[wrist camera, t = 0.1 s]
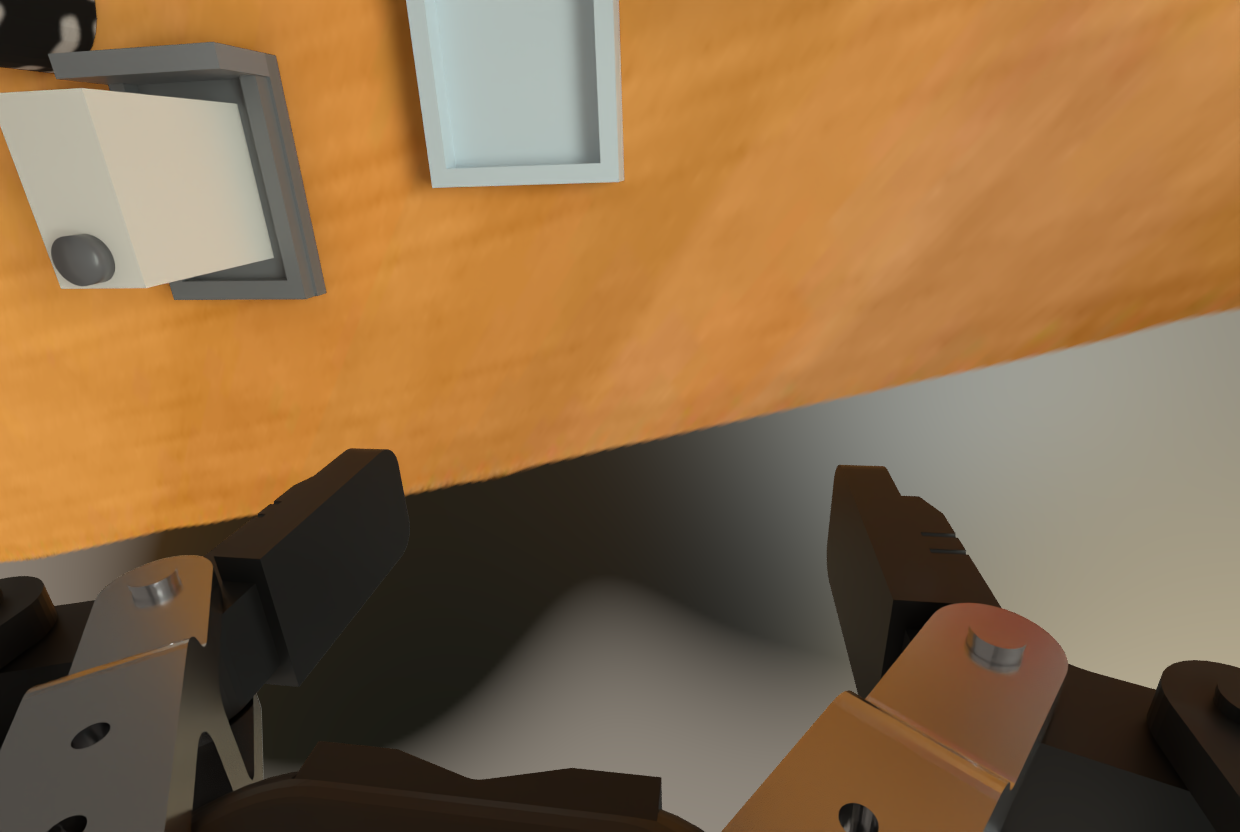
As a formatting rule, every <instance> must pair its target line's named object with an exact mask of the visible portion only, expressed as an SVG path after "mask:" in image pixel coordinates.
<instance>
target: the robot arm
mask: <svg viewBox="0 0 1240 832" xmlns="http://www.w3.org/2000/svg"><path fill="white" fill-rule="evenodd" d="M409 533H410V523H409V517H408V512H407V507H406V501H405V496H404V491H403V486H402V481H401V475H400V470H399V465H398V461H397V458H396V456H395V454H394V453H393V452H392V451H391V450H385V449H354V448H352V449H348V450H346V451H345V452H343V453H342V454H341V455H340V456H338V457H337V458H336V459H334V460H333V461H332V462H331V463H329V464H328V465H327V466H326V467H324V468H323V469H322V470H321V471H319V472H318V473H317V474H316V475H314V476H313V477H311V478H309V479H307V480H304V481H302V482H300V483H298V484H296V485H294V486H293V487H291V488H290V489H289V490H287V491H286V492H285V493H284V494H282V495H281V496H280V497H279V498H277V499H276V500H275V501H274V504H270V505H268V506H267V507H266V508H265V509H263V510H262V511H261V512H259V513H258V517H253V518H252V519H251V520H249V521H248V522H247V523H245V524H244V525H243V526H242V527H240V528H239V529H238V530H237V531H235V532H234V533H233V534H231V535H230V536H229V537H228V538H227V539H225V540H224V541H222V542H221V543H220V544H219V545H217V546H216V547H215V548H214V549H212V550H211V551H210V552H209V553H207V554H206V555H205V556H203V557H202V556H196V555H183V556H175V557H169V558H165V559H161V560H157V561H154V562H151V563H148V564H145V565H142V566H140V567H138V568H135V569H133V570H131V571H129V572H127V573H126V574H123V575H122V576H120V577H118V578H117V579H115V580H114V581H112V582H111V583H110V584H108V585H107V586H106V587H105V588H104V589H103V590H102V591H101V592H100V593H99V594H98V596H97V597H96V599H95V600H94V601H87V602H80V603H73V604H66V605H59V606H54V605H53V603H52V601H51V599H50V597H49V595H48V592H47V590H46V588H45V586H44V584H43V582H42V581H41V580H40V579H38V578H35V577H29V576H18V577H10V578H4V579H0V832H704V831H703V830H701V829H700V828H699V827H697V826H695V825H693V824H691V823H689V822H688V821H686V820H684V819H682V818H680V817H679V816H676V815H674V814H671V813H669V812H666V811H664V810H662V797H661V796H662V794H661V793H662V791H661V778H660V777H651V776H642V775H633V774H624V773H614V772H604V771H595V770H586V769H576V768H569V769H560V770H553V771H545V772H538V773H530V774H523V775H515V776H507V777H500V778H492V779H484V780H475V779H470V778H466V777H464V776H462V775H459V774H457V773H454V772H452V771H449V770H447V769H445V768H442V767H440V766H437V765H435V764H432V763H430V762H427V761H425V760H422V759H420V758H418V757H415V756H412V755H410V754H408V753H405V752H403V751H400V750H397V749H389V748H379V747H370V746H360V745H351V744H342V743H331V742H322V741H319V742H318V744H317V745H316V747H315V748H314V750H313V751H312V752H311V754H310V755H309V757H308V758H307V760H306V761H305V763H304V765H303V766H302V768H301V769H300V770H299V771H298V772H291V773H287V774H282V775H279V776H275V777H270V778H267V779H264V780H263V749H262V748H263V745H262V712H261V705H260V702H259V700H258V697H257V694H256V693H257V692H258V691H259V689H260V688H261V687H262V686H263V685H264V684H274V685H285V686H296V687H299V686H300V685H301V684H302V682H303V681H304V680H305V679H306V677H307V676H308V675H309V673H310V672H311V671H312V670H313V668H314V667H315V666H316V664H317V663H318V662H319V661H320V659H321V658H322V657H323V656H324V654H325V653H326V652H327V651H328V649H329V648H330V647H331V645H332V644H333V643H334V642H335V640H336V639H337V638H338V637H339V635H340V634H341V633H342V631H343V630H344V629H345V627H346V626H347V625H348V624H349V622H350V621H351V620H352V619H353V617H354V616H355V615H356V614H357V612H358V611H359V610H360V608H361V607H362V606H363V605H364V603H365V602H366V601H367V600H368V598H369V597H370V596H371V595H372V593H373V592H374V591H375V589H376V588H377V587H378V586H379V584H380V583H381V582H382V580H383V579H384V578H385V577H386V575H387V574H388V573H389V572H390V570H391V569H392V568H393V567H394V565H395V564H396V563H397V561H398V560H399V559H400V558H401V556H402V555H403V553H404V551H405V549H406V547H407V544H408V540H409ZM827 571H828V578H829V583H830V587H831V591H832V595H833V598H834V602H835V606H836V610H837V613H838V618H839V622H840V626H841V630H842V634H843V637H844V641H845V645H846V649H847V653H848V657H849V661H850V665H851V669H852V672H853V676H854V680H855V684H856V688H857V692H858V695H857V694H855V693H854V692H852V691H845V692H843V693H841V694H840V695H839V696H838V697H836V699H835V700H834V701H833V702H832V703H831V704H830V705H829V706H828V707H827V709H826V710H825V711H824V712H823V714H822V715H821V716H820V717H819V718H818V719H817V720H816V722H815V723H814V724H813V725H812V726H811V727H810V729H809V730H808V731H807V732H806V733H805V735H804V736H803V737H802V738H801V739H800V740H799V742H798V743H797V744H796V745H795V746H794V747H793V748H792V750H791V751H790V752H789V753H788V755H787V756H786V757H785V758H784V759H783V760H782V761H781V762H780V764H779V765H778V766H777V767H776V769H775V770H774V771H773V772H772V773H771V774H770V775H769V777H768V778H767V779H766V780H765V781H764V782H763V784H762V785H761V786H760V787H759V788H758V789H757V791H756V792H755V793H754V794H753V795H752V796H751V798H750V799H749V800H748V801H747V802H746V804H745V805H744V806H743V807H742V808H741V809H740V810H739V812H738V813H737V814H736V815H735V816H734V818H733V819H732V820H731V821H730V822H729V823H728V825H727V826H726V827H725V828H724V829H723V830H722V832H1240V668H1238V667H1234V666H1230V665H1226V664H1222V663H1216V662H1210V661H1198V660H1193V661H1182V662H1178V663H1174V664H1172V665H1171V666H1169V667H1167V668H1166V669H1165V670H1164V671H1163V674H1162V676H1161V679H1160V681H1159V684H1158V687H1157V689H1156V690H1155V689H1151V688H1147V687H1144V686H1140V685H1137V684H1133V683H1129V682H1126V681H1122V680H1118V679H1114V678H1111V677H1108V676H1104V675H1100V674H1097V673H1093V672H1090V671H1087V670H1084V669H1081V668H1078V667H1075V666H1073V665H1070V664H1068V661H1067V658H1066V655H1065V652H1064V651H1063V649H1062V648H1061V646H1060V645H1059V643H1058V642H1057V641H1056V640H1055V639H1054V638H1053V637H1052V636H1051V635H1050V634H1049V633H1047V632H1046V631H1045V630H1044V629H1042V628H1041V627H1040V626H1038V625H1037V624H1035V623H1033V622H1031V621H1030V620H1028V619H1026V618H1024V617H1022V616H1020V615H1018V614H1016V613H1013V612H1010V611H1008V610H1005V609H1002V608H1001V606H1000V605H999V603H998V602H997V600H996V599H995V597H994V595H993V594H992V592H991V590H990V589H989V587H988V585H987V584H986V582H985V581H984V579H983V577H982V576H981V574H980V573H979V571H978V569H977V568H976V566H975V564H974V563H973V561H972V560H971V558H970V556H969V555H966V550H965V548H964V547H963V545H962V544H961V542H960V540H959V539H958V538H956V537H955V532H954V531H953V529H952V528H951V526H950V524H949V523H948V521H947V519H946V518H945V516H944V515H943V513H941V512H940V511H938V510H937V509H936V508H934V507H933V506H931V505H930V504H929V503H927V502H926V501H925V500H923V499H922V498H920V497H916V496H901V495H900V493H899V491H898V489H897V487H896V485H895V483H894V482H893V480H892V478H891V476H890V474H889V472H888V471H887V469H886V468H885V467H883V466H857V465H856V466H854V465H838V466H837V469H836V472H835V476H834V485H833V495H832V504H831V513H830V522H829V532H828V541H827Z"/></svg>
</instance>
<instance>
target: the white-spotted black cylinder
mask: <svg viewBox="0 0 1240 832" xmlns="http://www.w3.org/2000/svg"><path fill="white" fill-rule="evenodd" d="M96 20H97V17H96V8H95V1H94V0H0V67H5V68H13V69H21V70H30V71H38V72H47V73H54V71H53V68H52V65H51V62H50V59H49V56H48V54H53V53H67V52H81V51H90V49H91V47H92V46H93V42H94V38H95V34H96Z"/></svg>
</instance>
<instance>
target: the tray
mask: <svg viewBox="0 0 1240 832" xmlns="http://www.w3.org/2000/svg"><path fill="white" fill-rule="evenodd" d="M406 4H407V11H408V18H409V25H410V32H411V40H412V47H413V54H414V61H415V68H416V75H417V82H418V89H419V97H420V104H421V111H422V118H423V125H424V132H425V139H426V147H427V154H428V161H429V168H430V175H431V182H432V188H442V187H473V186H505V185H536V184H568V183H599V182H620V181H624V157H623V124H622V91H621V58H620V25H619V0H406Z"/></svg>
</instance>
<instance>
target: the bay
mask: <svg viewBox="0 0 1240 832" xmlns="http://www.w3.org/2000/svg"><path fill="white" fill-rule="evenodd" d="M48 56H49V59H50V62H51V65H52V68H53V71H54V74H55V77H56V79H61V80H70V81H79V82H88V83H97V84H106V85H108V86H109V89H110V91H116V92H126V93H136V94H146V95H155V96H165V97H175V98H185V99H195V100H205V101H215V102H225V103H234V104H237V106H238V110H239V114H240V118H241V122H242V126H243V131H244V135H245V139H246V143H247V147H248V151H249V156H250V160H251V164H252V168H253V172H254V176H255V180H256V185H257V189H258V193H259V197H260V201H261V205H262V210H263V214H264V218H265V222H266V226H267V230H268V235H269V239H270V243H271V247H272V251H273V255H274V258H271V259H267V260H263V261H258V262H254V263H250V264H246V265H242V266H237V267H233V268H229V269H225V270H220V271H216V272H212V273H208V274H203V275H199V276H195V277H191V278H187V279H182V280H178V281H174V282H170V283H169V284H170V287H171V291H172V294H173V297H174V300H227V299H308V298H311V297H313V296H319V295H322V294H324V293H326V288H325V284H324V279H323V274H322V270H321V265H320V260H319V256H318V251H317V246H316V242H315V237H314V232H313V228H312V223H311V218H310V214H309V209H308V204H307V200H306V195H305V190H304V185H303V181H302V176H301V171H300V167H299V162H298V157H297V153H296V148H295V143H294V139H293V134H292V129H291V125H290V120H289V115H288V111H287V106H286V101H285V97H284V92H283V87H282V83H281V78H280V73H279V68H278V64H277V59H276V56H275V55H271V54H266V53H261V52H257V51H252V50H248V49H243V48H239V47H234V46H229V45H225V44H220V43H216V42H207V43H193V44H179V45H165V46H151V47H137V48H123V49H109V50H95V51H81V52H67V53H53V54H48Z"/></svg>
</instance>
